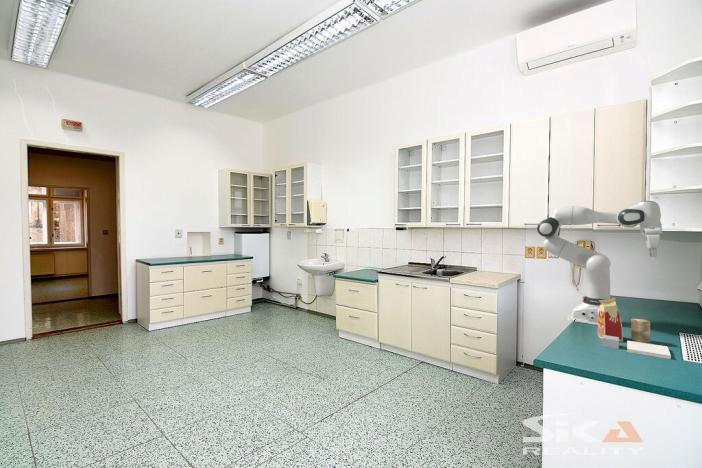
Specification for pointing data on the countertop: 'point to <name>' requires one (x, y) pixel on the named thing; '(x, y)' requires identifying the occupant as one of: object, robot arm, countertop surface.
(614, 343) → the grey plastic box
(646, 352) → the off-white board
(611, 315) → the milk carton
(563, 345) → the countertop surface
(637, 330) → the maple block
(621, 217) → the robot arm
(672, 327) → the countertop surface
